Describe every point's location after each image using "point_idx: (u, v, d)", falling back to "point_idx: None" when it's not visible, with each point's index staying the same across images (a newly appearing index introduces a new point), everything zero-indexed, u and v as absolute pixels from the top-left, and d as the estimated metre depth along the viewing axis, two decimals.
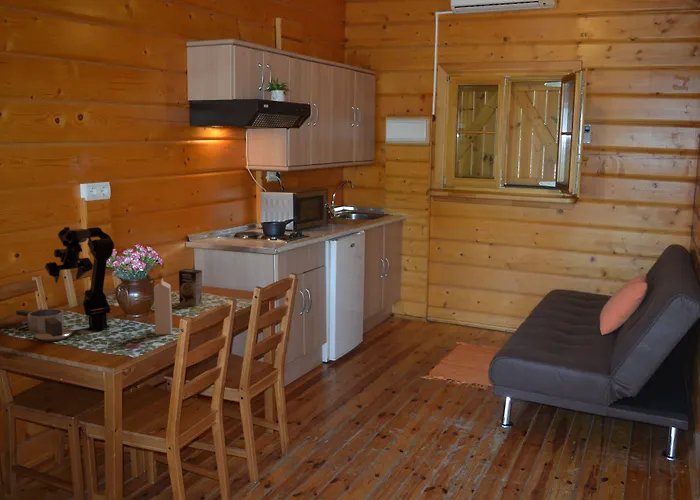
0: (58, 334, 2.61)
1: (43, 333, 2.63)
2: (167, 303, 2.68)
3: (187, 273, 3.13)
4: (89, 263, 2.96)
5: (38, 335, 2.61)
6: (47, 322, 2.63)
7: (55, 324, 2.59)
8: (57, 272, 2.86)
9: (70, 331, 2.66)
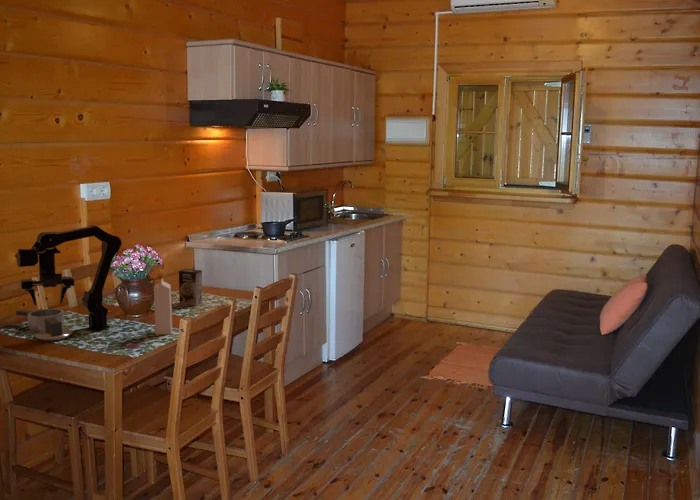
0: (58, 334, 2.61)
1: (43, 333, 2.63)
2: (167, 303, 2.68)
3: (187, 273, 3.13)
4: (24, 279, 2.59)
5: (38, 335, 2.61)
6: (47, 322, 2.63)
7: (55, 324, 2.59)
8: None
9: (70, 331, 2.66)
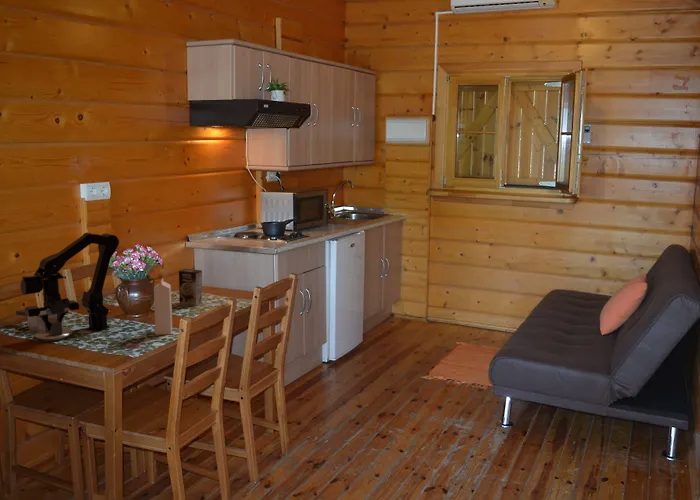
0: (58, 334, 2.61)
1: (43, 333, 2.63)
2: (167, 303, 2.68)
3: (187, 273, 3.13)
4: (28, 307, 2.58)
5: (38, 335, 2.61)
6: None
7: (55, 324, 2.59)
8: None
9: (70, 331, 2.66)
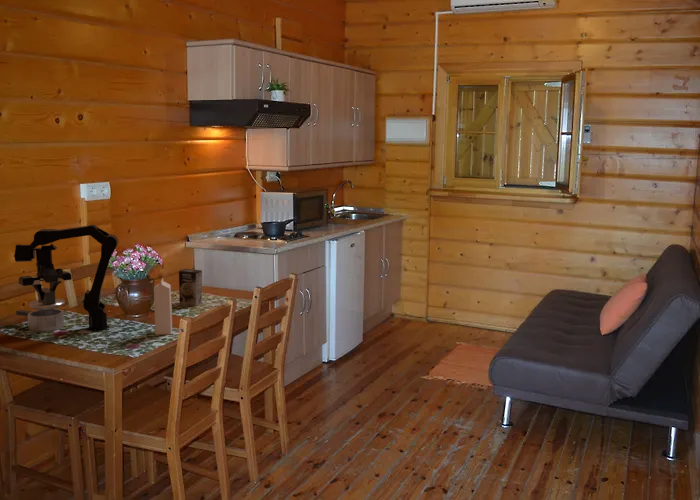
0: (51, 303, 2.67)
1: (36, 302, 2.69)
2: (167, 303, 2.68)
3: (187, 273, 3.13)
4: (22, 276, 2.64)
5: (31, 304, 2.67)
6: None
7: (48, 293, 2.66)
8: None
9: (63, 301, 2.73)
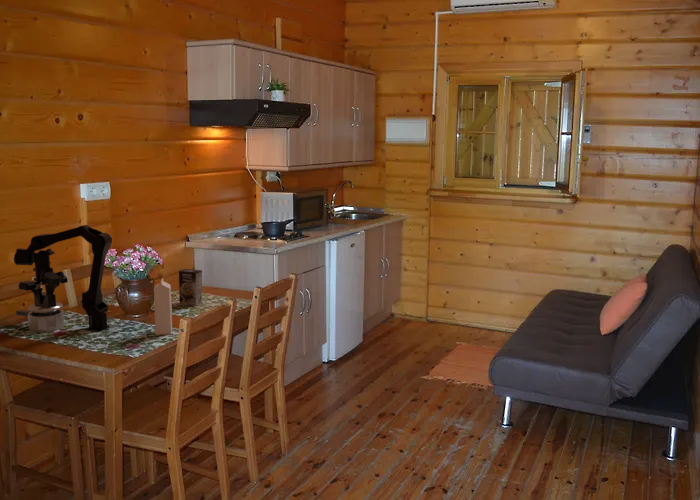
0: (53, 306, 2.74)
1: (35, 306, 2.74)
2: (167, 303, 2.68)
3: (187, 273, 3.13)
4: (22, 282, 2.68)
5: (32, 308, 2.72)
6: None
7: (50, 296, 2.73)
8: None
9: (60, 303, 2.80)
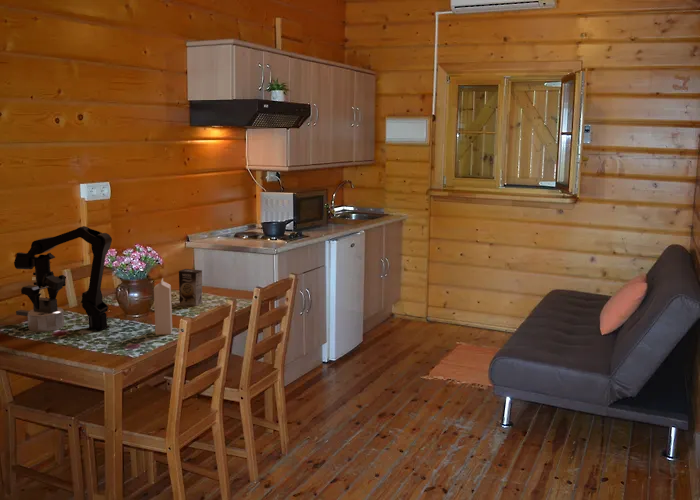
0: (55, 310, 2.75)
1: (35, 312, 2.74)
2: (167, 303, 2.68)
3: (187, 273, 3.13)
4: (25, 286, 2.67)
5: (34, 314, 2.71)
6: (39, 301, 2.75)
7: (52, 301, 2.74)
8: None
9: (59, 308, 2.81)
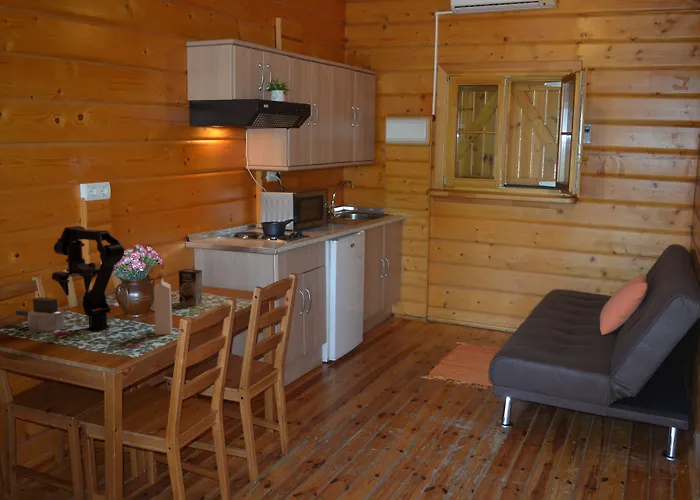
0: (55, 310, 2.75)
1: (35, 312, 2.74)
2: (167, 303, 2.68)
3: (187, 273, 3.13)
4: (55, 272, 2.74)
5: (34, 314, 2.71)
6: (39, 301, 2.75)
7: (52, 301, 2.74)
8: None
9: (59, 308, 2.81)
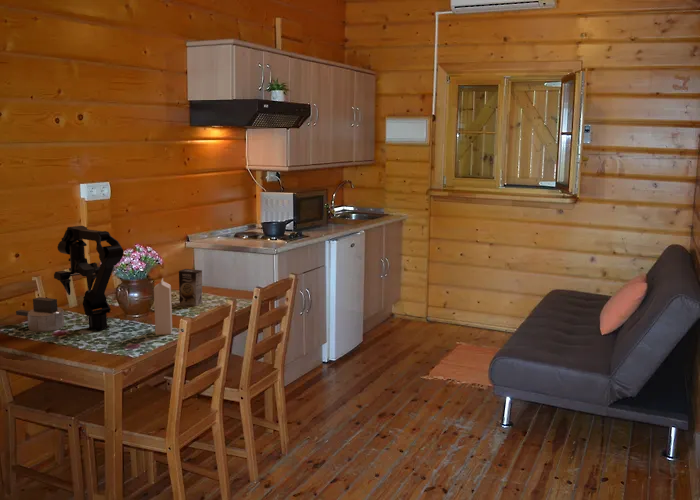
0: (55, 310, 2.75)
1: (35, 312, 2.74)
2: (167, 303, 2.68)
3: (187, 273, 3.13)
4: (57, 271, 2.75)
5: (34, 314, 2.71)
6: (39, 301, 2.75)
7: (52, 301, 2.74)
8: None
9: (59, 308, 2.81)
